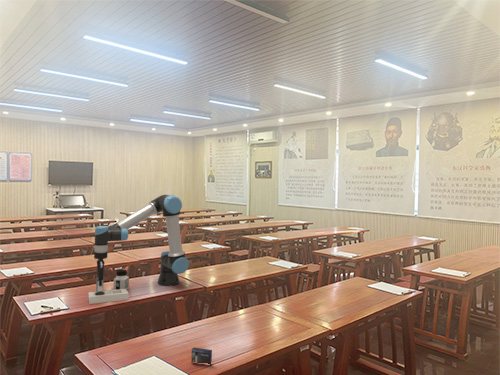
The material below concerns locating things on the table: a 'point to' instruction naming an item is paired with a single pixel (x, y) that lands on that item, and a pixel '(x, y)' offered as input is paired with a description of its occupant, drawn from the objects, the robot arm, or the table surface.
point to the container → (121, 280)
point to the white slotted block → (108, 296)
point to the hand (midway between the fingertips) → (99, 289)
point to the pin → (97, 288)
